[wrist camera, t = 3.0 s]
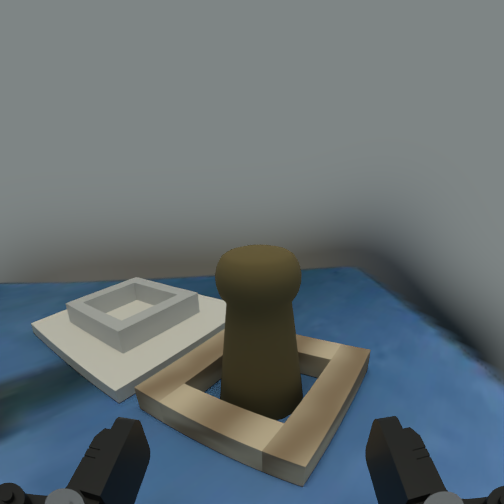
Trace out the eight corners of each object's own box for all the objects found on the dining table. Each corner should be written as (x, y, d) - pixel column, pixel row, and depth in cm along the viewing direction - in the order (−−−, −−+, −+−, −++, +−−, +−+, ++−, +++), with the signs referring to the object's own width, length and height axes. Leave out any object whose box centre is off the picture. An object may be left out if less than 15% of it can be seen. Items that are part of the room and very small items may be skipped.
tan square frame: (140, 408, 20) (134, 387, 20) (238, 338, 30) (237, 320, 30) (302, 486, 14) (305, 467, 13) (367, 370, 24) (370, 349, 23)
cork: (276, 364, 26) (275, 234, 23) (319, 402, 21) (329, 251, 18) (208, 384, 23) (193, 245, 21) (241, 433, 18) (229, 269, 15)
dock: (33, 332, 30) (26, 305, 29) (143, 288, 45) (140, 265, 44) (119, 403, 20) (107, 366, 20) (249, 316, 35) (248, 287, 34)
